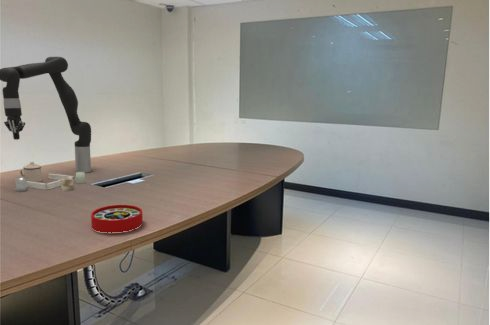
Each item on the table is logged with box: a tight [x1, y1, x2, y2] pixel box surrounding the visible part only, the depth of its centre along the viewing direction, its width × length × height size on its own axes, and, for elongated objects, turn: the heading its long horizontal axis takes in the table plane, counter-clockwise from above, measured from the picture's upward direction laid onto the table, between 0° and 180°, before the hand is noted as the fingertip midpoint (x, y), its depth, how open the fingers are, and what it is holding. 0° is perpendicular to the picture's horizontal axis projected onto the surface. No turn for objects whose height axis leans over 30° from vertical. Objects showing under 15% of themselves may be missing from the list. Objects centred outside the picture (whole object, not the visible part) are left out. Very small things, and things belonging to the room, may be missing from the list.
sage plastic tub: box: [75, 171, 86, 185], centre depth 212 cm, size 5×5×6 cm
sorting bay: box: [27, 173, 76, 191], centre depth 207 cm, size 18×21×3 cm
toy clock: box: [90, 204, 143, 233], centre depth 149 cm, size 20×6×20 cm
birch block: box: [60, 178, 74, 192], centre depth 197 cm, size 5×5×6 cm
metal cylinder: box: [14, 176, 28, 193], centre depth 191 cm, size 5×5×7 cm
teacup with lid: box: [19, 161, 43, 183], centre depth 209 cm, size 12×9×12 cm
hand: (16, 139), depth 194 cm, fingers closed
